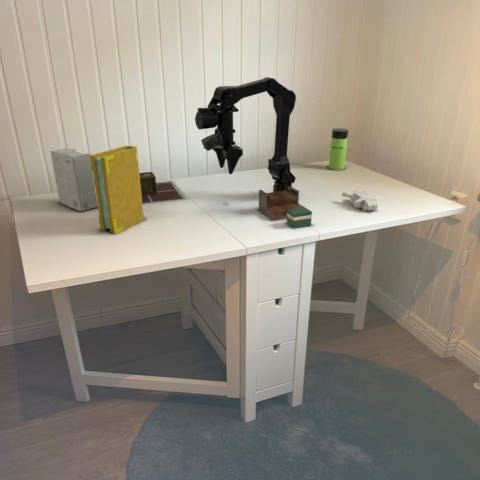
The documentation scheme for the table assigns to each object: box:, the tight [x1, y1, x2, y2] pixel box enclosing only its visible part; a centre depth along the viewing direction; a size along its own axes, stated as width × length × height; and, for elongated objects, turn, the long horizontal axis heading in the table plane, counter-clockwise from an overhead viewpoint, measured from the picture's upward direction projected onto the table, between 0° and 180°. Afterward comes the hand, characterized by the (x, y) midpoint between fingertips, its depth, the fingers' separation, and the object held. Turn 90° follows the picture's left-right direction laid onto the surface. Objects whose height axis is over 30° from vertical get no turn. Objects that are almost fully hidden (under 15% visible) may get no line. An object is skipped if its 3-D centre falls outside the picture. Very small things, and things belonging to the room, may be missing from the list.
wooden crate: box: [139, 171, 158, 197], centre depth 210 cm, size 7×7×7 cm
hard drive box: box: [50, 147, 98, 212], centre depth 193 cm, size 16×8×20 cm, turn 47°
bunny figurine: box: [341, 189, 378, 212], centre depth 197 cm, size 10×5×15 cm
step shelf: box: [258, 186, 305, 221], centre depth 190 cm, size 13×12×8 cm
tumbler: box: [328, 127, 349, 171], centre depth 240 cm, size 8×8×17 cm
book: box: [90, 145, 145, 235], centre depth 175 cm, size 17×7×25 cm, turn 148°
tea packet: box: [286, 206, 313, 229], centre depth 180 cm, size 7×5×5 cm
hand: (226, 170), depth 189 cm, fingers open, 9 cm apart
